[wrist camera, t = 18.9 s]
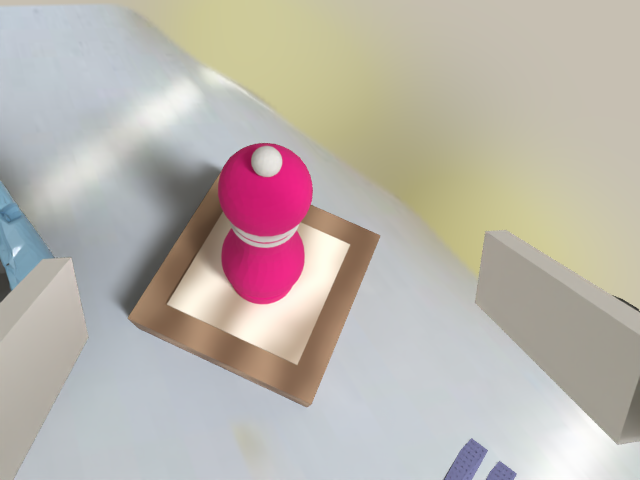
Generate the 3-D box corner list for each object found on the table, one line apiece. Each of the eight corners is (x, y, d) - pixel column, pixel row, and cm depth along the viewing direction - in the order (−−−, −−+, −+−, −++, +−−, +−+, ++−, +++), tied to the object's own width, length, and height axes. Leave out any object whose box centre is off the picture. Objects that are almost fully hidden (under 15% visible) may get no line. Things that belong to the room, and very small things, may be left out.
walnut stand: (138, 328, 44) (126, 317, 40) (226, 185, 51) (224, 164, 47) (306, 407, 43) (311, 404, 39) (371, 250, 50) (381, 234, 46)
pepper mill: (228, 315, 41) (206, 217, 23) (220, 243, 44) (194, 105, 26) (306, 303, 42) (343, 202, 24) (293, 234, 45) (318, 97, 27)
